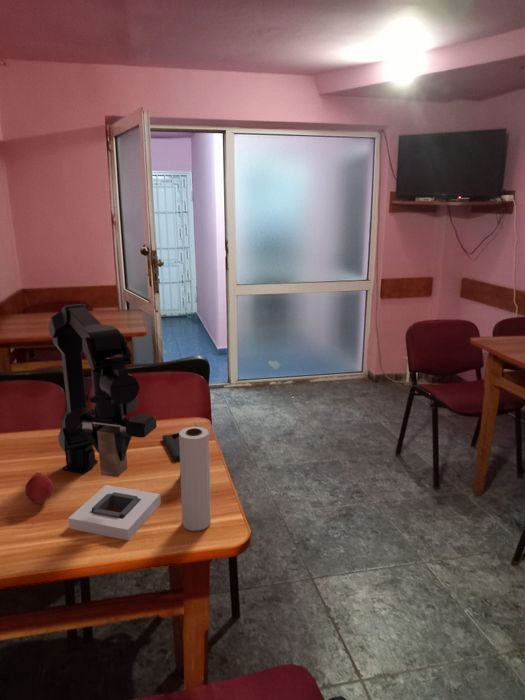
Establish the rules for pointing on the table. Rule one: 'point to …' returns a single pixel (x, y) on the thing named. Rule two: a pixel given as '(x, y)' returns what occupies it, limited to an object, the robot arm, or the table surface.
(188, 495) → the paper towel roll
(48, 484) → the onion
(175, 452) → the vhs tape
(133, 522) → the collar block
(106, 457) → the walnut peg
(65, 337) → the robot arm
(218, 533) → the table surface
